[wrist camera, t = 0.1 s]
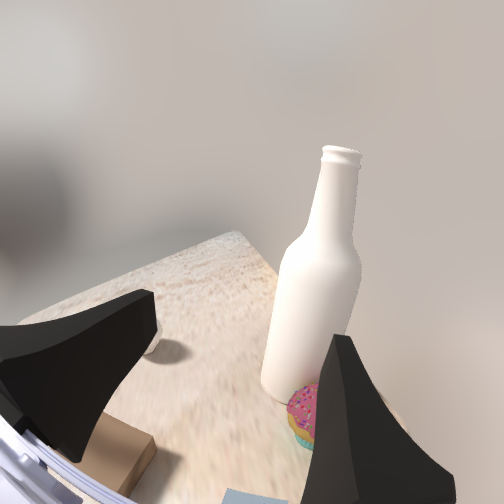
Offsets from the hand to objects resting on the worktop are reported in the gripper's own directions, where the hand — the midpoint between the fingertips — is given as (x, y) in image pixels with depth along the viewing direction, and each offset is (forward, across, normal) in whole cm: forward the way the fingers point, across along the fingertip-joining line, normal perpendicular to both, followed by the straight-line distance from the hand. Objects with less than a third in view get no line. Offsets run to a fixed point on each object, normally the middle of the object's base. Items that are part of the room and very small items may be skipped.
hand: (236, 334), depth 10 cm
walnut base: (-2, +12, +22) cm, 25 cm away
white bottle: (+18, -4, +23) cm, 30 cm away
